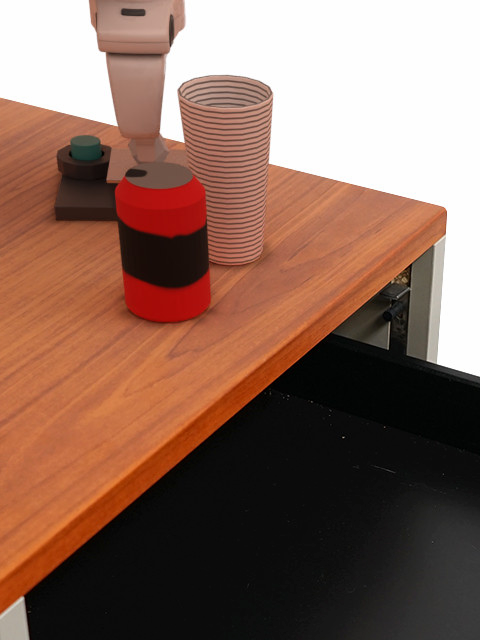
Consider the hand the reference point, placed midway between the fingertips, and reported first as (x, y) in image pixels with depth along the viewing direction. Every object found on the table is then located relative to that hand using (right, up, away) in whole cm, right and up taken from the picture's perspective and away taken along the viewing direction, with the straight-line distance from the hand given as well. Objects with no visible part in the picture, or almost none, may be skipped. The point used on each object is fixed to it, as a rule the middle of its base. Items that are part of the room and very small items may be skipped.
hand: (148, 149), depth 139 cm
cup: (+9, -12, -5) cm, 16 cm away
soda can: (+5, -19, -14) cm, 24 cm away
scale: (-2, -4, +3) cm, 5 cm away
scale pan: (0, -2, +1) cm, 2 cm away
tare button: (-7, 0, +3) cm, 8 cm away
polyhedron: (0, -1, +1) cm, 2 cm away
